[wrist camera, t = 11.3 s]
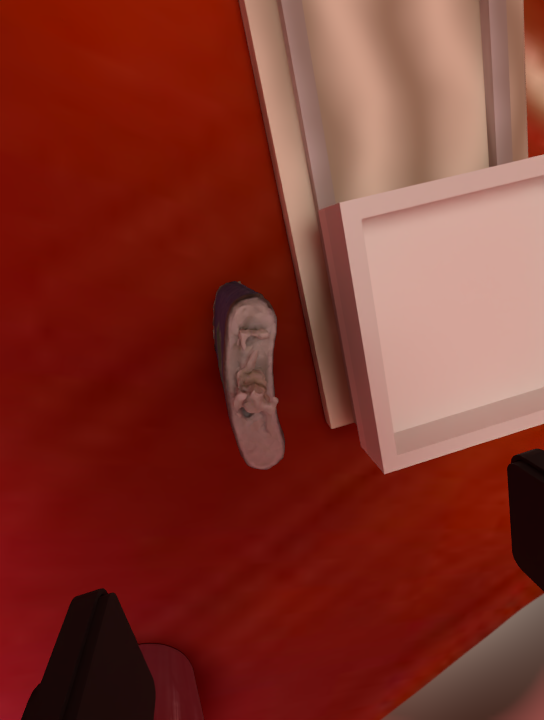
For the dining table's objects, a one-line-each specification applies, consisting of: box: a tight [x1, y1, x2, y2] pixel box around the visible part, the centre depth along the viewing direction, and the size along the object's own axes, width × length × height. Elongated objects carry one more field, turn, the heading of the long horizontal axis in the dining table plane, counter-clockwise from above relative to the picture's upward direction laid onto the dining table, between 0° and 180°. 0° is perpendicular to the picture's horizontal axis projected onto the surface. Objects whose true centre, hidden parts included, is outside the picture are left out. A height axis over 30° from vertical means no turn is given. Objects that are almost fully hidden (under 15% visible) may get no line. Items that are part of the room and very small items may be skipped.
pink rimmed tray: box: [318, 155, 544, 474], centre depth 26 cm, size 16×16×6 cm
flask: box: [213, 281, 285, 469], centre depth 24 cm, size 10×3×12 cm, turn 5°
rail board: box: [239, 0, 528, 429], centre depth 27 cm, size 18×34×2 cm, turn 14°
